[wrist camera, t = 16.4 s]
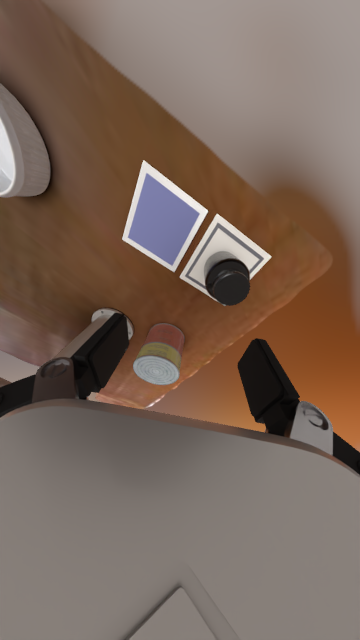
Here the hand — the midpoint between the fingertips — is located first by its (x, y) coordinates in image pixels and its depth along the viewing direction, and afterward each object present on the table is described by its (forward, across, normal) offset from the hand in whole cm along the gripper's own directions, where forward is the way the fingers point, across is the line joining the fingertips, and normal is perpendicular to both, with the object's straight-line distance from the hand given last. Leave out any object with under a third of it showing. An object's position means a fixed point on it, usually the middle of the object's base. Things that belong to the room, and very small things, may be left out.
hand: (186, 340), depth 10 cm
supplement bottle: (+23, -6, -1) cm, 23 cm away
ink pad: (+23, +7, -6) cm, 25 cm away
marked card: (+23, -6, -1) cm, 24 cm away
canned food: (+24, +4, +22) cm, 33 cm away
